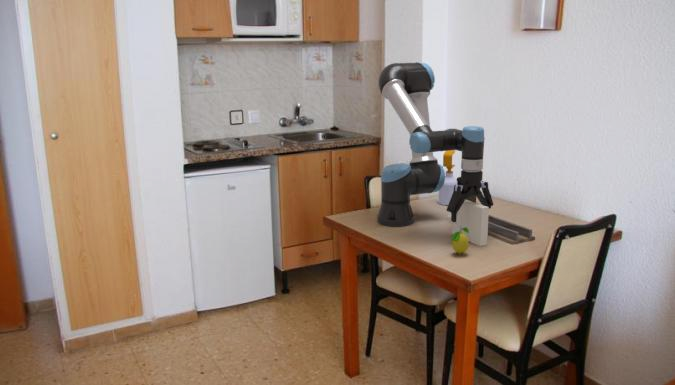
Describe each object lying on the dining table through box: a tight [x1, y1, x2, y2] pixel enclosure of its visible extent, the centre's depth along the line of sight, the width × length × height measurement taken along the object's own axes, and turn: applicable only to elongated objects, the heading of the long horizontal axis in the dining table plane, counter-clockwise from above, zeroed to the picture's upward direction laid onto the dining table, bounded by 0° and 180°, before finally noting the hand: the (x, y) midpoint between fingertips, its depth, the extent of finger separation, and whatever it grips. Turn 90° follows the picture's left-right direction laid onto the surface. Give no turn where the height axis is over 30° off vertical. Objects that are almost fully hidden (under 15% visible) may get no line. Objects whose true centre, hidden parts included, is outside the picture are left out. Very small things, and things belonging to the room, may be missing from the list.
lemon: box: [451, 227, 470, 255], centre depth 189 cm, size 7×6×10 cm
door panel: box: [451, 200, 490, 247], centre depth 204 cm, size 4×16×14 cm, turn 27°
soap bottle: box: [437, 150, 458, 207], centre depth 254 cm, size 9×9×25 cm
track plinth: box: [488, 214, 536, 245], centre depth 211 cm, size 11×24×4 cm, turn 27°
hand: (469, 227), depth 204 cm, fingers open, 12 cm apart
